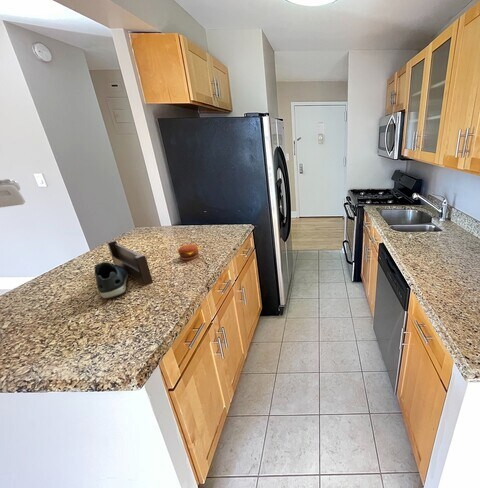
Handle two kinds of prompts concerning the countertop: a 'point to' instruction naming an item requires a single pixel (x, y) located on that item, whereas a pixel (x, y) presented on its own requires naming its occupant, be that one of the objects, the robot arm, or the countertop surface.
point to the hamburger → (188, 252)
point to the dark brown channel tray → (130, 262)
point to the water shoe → (110, 279)
